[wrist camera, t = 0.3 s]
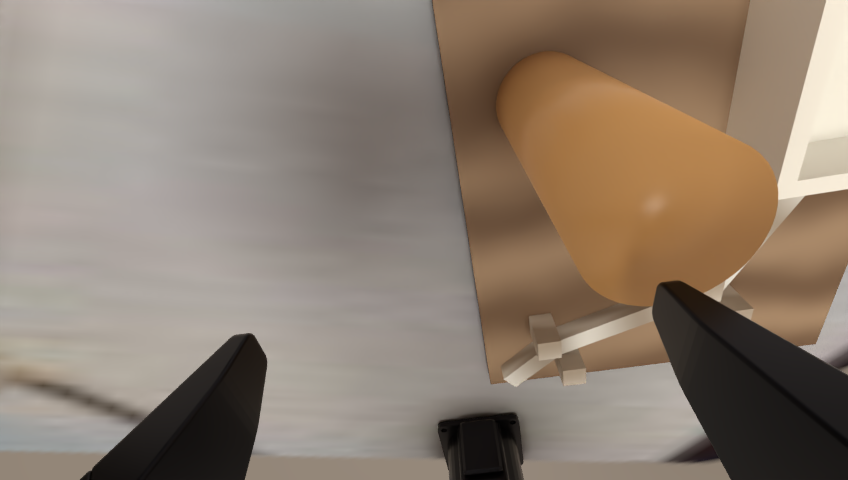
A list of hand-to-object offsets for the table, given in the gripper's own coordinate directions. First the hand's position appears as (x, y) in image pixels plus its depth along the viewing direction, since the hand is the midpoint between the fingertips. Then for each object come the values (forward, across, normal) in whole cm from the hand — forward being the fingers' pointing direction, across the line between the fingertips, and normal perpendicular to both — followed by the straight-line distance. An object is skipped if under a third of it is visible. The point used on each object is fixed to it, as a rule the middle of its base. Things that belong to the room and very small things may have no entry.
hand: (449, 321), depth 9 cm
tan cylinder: (+14, -5, 0) cm, 15 cm away
